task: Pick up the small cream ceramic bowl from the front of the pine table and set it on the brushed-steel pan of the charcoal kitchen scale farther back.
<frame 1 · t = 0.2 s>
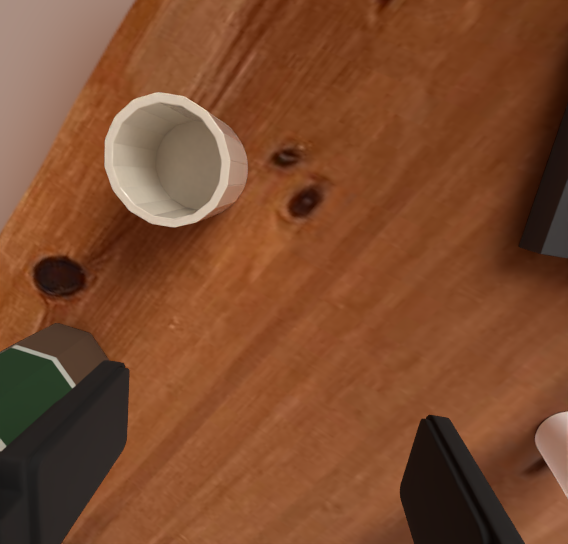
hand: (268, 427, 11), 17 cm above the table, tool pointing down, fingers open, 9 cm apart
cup: (563, 434, 30), on the table
ramekin: (200, 167, 25), on the table
beer bottle: (70, 360, 30), on the table
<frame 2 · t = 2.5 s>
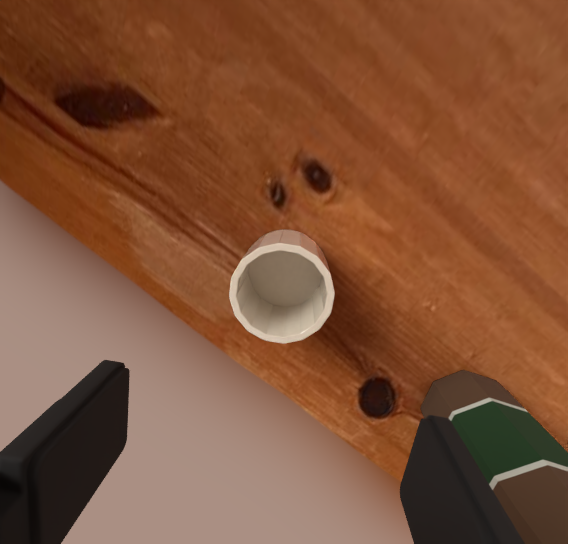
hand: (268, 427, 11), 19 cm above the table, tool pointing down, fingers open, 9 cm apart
ramekin: (285, 270, 29), on the table
beer bottle: (459, 403, 32), on the table
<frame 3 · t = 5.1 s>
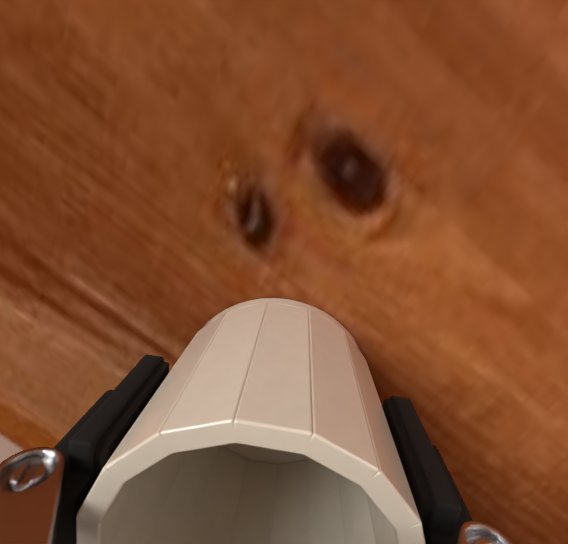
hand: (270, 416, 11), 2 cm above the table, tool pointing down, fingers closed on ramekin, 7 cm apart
ramekin: (274, 384, 13), on the table, touching gripper
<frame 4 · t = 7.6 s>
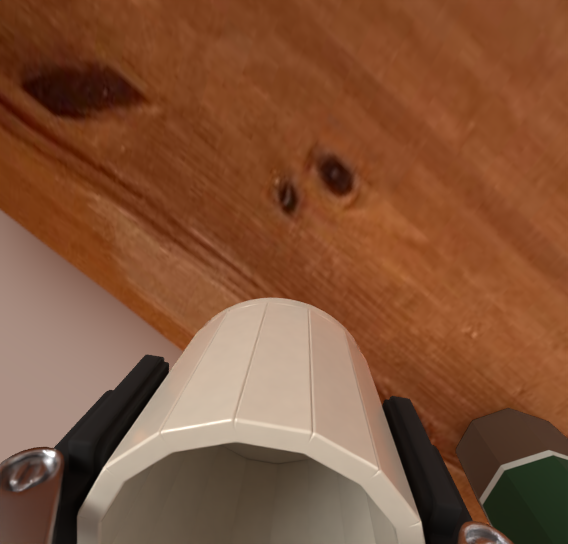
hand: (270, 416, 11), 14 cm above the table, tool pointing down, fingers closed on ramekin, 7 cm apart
ramekin: (274, 384, 13), point 12 cm above the table, touching gripper
beer bottle: (502, 446, 27), on the table
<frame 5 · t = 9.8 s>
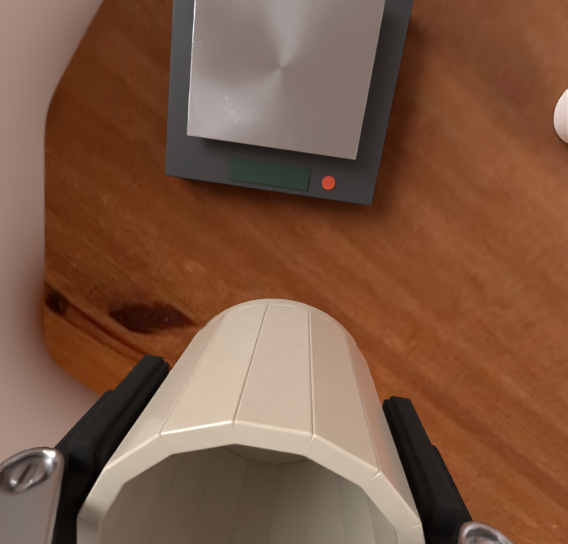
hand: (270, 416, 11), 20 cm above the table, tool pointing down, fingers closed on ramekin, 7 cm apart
scale: (282, 98, 27), on the table
ramekin: (274, 385, 13), point 18 cm above the table, touching gripper
scale pan: (280, 70, 23), point 4 cm above the table, slide at 0.0 cm
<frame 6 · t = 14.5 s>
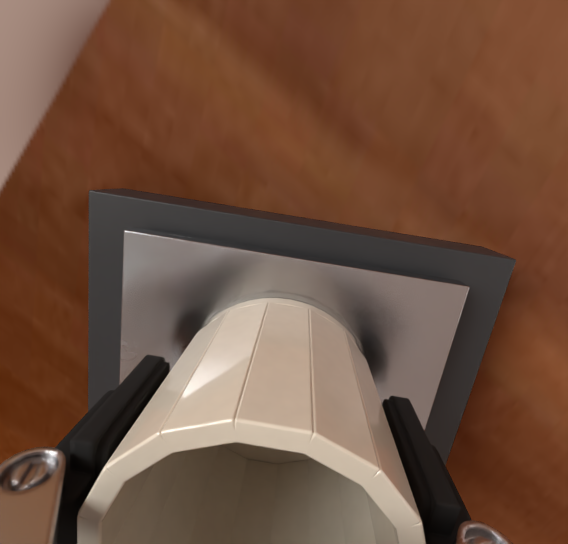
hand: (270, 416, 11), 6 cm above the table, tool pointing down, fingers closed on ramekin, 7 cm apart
scale: (277, 358, 17), on the table
ramekin: (275, 384, 13), point 4 cm above the table, touching gripper, scale pan
scale pan: (275, 379, 14), point 3 cm above the table, slide at -0.3 cm, touching ramekin
when the fingers open (6 cm above the table, at t = 14.8 s): ramekin stays where it is, resting on scale pan.
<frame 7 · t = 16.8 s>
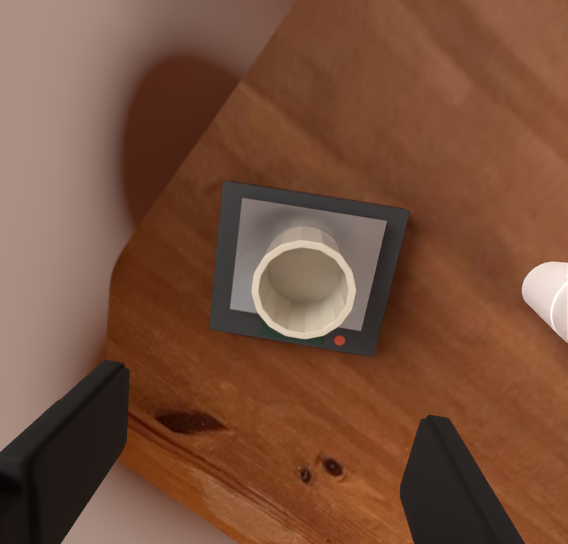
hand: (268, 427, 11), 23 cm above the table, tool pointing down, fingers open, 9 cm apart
scale: (303, 267, 34), on the table
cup: (547, 285, 33), on the table
ramekin: (304, 267, 30), point 4 cm above the table, touching scale pan
scale pan: (304, 266, 30), point 3 cm above the table, slide at -0.3 cm, touching ramekin
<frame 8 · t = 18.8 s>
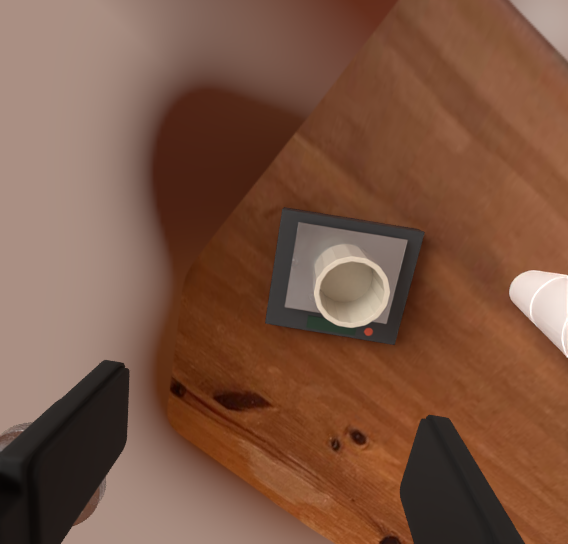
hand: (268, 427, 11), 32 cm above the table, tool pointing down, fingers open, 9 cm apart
scale: (338, 274, 43), on the table
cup: (529, 289, 42), on the table
ramekin: (344, 274, 39), point 4 cm above the table, touching scale pan
scale pan: (343, 273, 39), point 3 cm above the table, slide at -0.3 cm, touching ramekin
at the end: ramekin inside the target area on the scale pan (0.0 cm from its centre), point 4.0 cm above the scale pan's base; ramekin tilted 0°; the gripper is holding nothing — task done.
